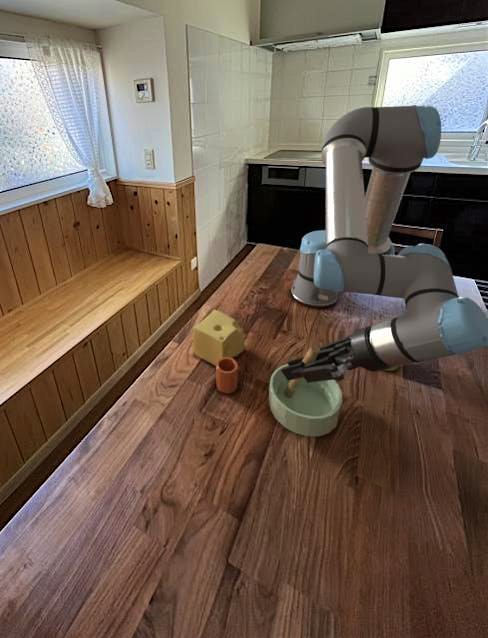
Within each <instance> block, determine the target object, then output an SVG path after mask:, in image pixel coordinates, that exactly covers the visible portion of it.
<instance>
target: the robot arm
mask: <svg viewBox="0 0 488 638" xmlns="http://www.w3.org/2000/svg"><path fill="white" fill-rule="evenodd" d="M441 139H442V120H441V116H440V113H439V111H438V110H437V108H435V107H434V106H431V105H416V104H413V105H401V106H400V105H397V106H364V107H359V108H356V109H355V108H354V109H353V110H350V111H348V112H347V113H345V114H344V115H342V116H341V117H340V118H338V119H337V120H336V121H335V122H334V123H333V124H332V126H331V127H330V128H329V130H328V131H327V133H326V134H325V136H324V138H323V141H322V144H321V150H320V151H321V153H320V154H321V155H320V158H321V162H322V163H323V165H324V166H325V229H324V230H323V229H321V230H314V231H311V232H309V233H306V234H305V235H304V236H303V237H302V238H301V244H300V247H299V252H300V254H299V263H298V271H297V275H296V277H295V279H294V281H293V283H292V285H291V288H290V289H291V290H290V296H291V297H292V299H293V300H295V302H296V303H299V304H301V305H303V306H306V307H308V308H314V309H315V308H316V309H325V308H329V307H332V306H334V305H335V304H336V303H337V301H338V296H339V295H338V293H353V294H364V295H373V296H378V297H386V298H387V297H388V298H397V299H403V300H404V304H405V309H406V310H407V313H404V314H402V315H399V316H397V317H392V318H388V319H385V320H382V321H380V322H375V323H374V324H373V325H368V326H365V327H362V328H358V329H356V330H354V331H353V332H352V333H350V334H349V335H347V336H344V337H342V338H339V339H336V340H334V341H331V342H328V343H326V344H323V345H320V346H318V347H319V348H320V353H319V354H318V356H317V358H316V359H315V361H313V362H310V363H307V364H305V363H304V362H303V361H302V360H303V359H304V357H305V355H304V356H301V357H296V358H294V359H290V360H288V361H286V364H288V365H289V367H285V368H282V369H281V371H282V373H283V374H284V376H285V377H286V379H287V380H288V381H289V380H293V379H297V378H302V377H304V379H305V380H306V381H307V383H309V382H318V381H327V380H335V381H336V382H341V381H343V380H344V379H345V376H344V375H343V374H344V373H345V372H346V371H352V370H356V369H358V368H362V369H364V370H366V371H368V372H372V373H375V372H380V371H385V369H389V368H391V367H398V368H399V367H403V366H406V365H412V366H414V365H417V363H421V362H425V361H430V360H435V359H442V358H445V357H451V356H458V355H459V356H462V355H465V354H467V353H471V352H474V351H478V350H481V349H482V350H483V349H485V348H488V317H487V315H486V313H485V311H484V310H483V309H482V308H481V306H479V304H478V303H477V302H476V301H474V300H473V299H472V298H469V297H466V296H459V293H458V290H457V285H456V283H455V282H456V281H455V278H454V275H453V270H452V268H451V265H450V263H449V261H448V258H447V257H446V255H445V253H444V252H443V250H442V249H440V248H439V247H437V246H435V245H432V244H428V243H418V244H417V245H408V246H406V247H404V248H402V249H401V250H400V251H399V252H398V253H397V255H396V249H395V246H394V243H393V242H392V240H391V238H390V236H389V235H390V232H391V230H392V227H393V224H394V221H395V218H396V216H397V212H398V210H399V207H400V203H401V202H402V201H401V200H402V199H403V195H404V193H405V189H406V187H407V184H408V181H409V178H410V176H411V173H414V172H416V171H417V170H419V169H420V167H421V166H422V163H423V160H424V159H426V160H428V159H431V158H434V157H435V156H436V155H437V153H438V151H439V149H440V144H441ZM365 158H366V159H367V160H368V164H369V165H370V166H371V167H372V170H371V173H370V177H369V181H368V184H367V188H366V192H365V182H364V169H363V161H364V160H365Z"/></svg>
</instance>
